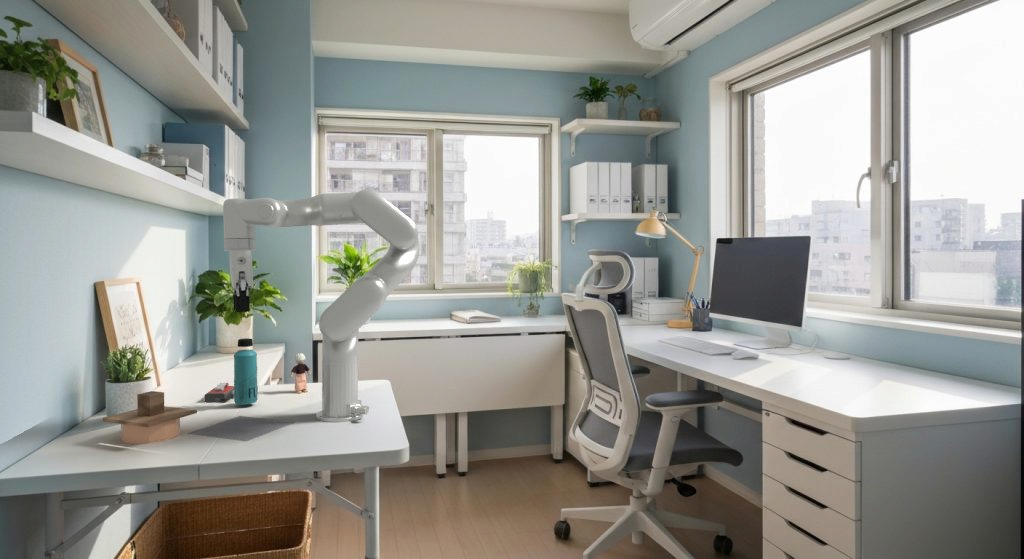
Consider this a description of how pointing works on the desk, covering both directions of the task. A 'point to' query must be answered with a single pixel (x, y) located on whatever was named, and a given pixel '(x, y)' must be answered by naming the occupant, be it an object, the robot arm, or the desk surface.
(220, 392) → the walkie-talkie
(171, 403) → the desk surface
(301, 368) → the grandmother figurine
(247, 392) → the beverage bottle
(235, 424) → the mat
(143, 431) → the bowl
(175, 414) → the lid
